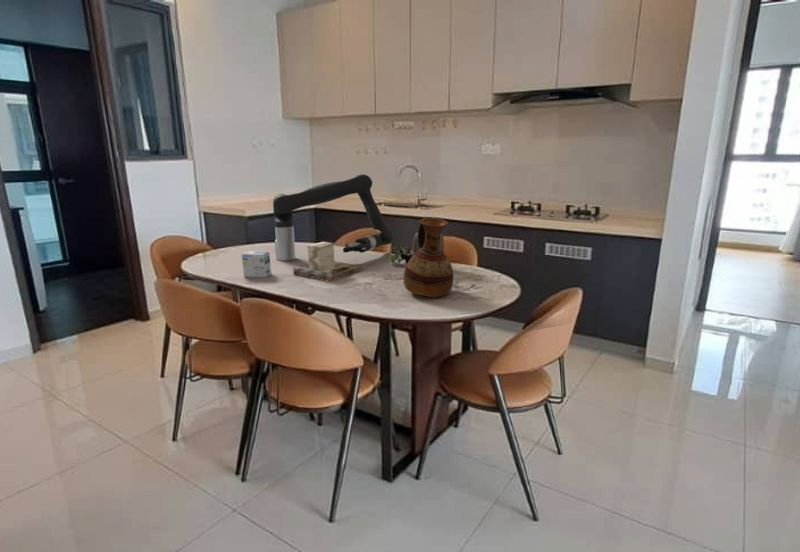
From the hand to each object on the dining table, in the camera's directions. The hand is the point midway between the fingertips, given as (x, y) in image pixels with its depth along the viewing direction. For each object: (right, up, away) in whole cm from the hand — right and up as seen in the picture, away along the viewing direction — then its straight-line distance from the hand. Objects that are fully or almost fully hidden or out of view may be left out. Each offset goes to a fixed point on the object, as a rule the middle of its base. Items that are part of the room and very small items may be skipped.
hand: (344, 250), depth 225 cm
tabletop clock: (+40, -10, -5) cm, 42 cm away
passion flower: (+28, -7, +5) cm, 29 cm away
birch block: (-9, -10, -12) cm, 18 cm away
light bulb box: (-38, -12, -13) cm, 42 cm away
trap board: (-6, -11, -8) cm, 15 cm away
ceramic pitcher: (+38, -19, -39) cm, 58 cm away
